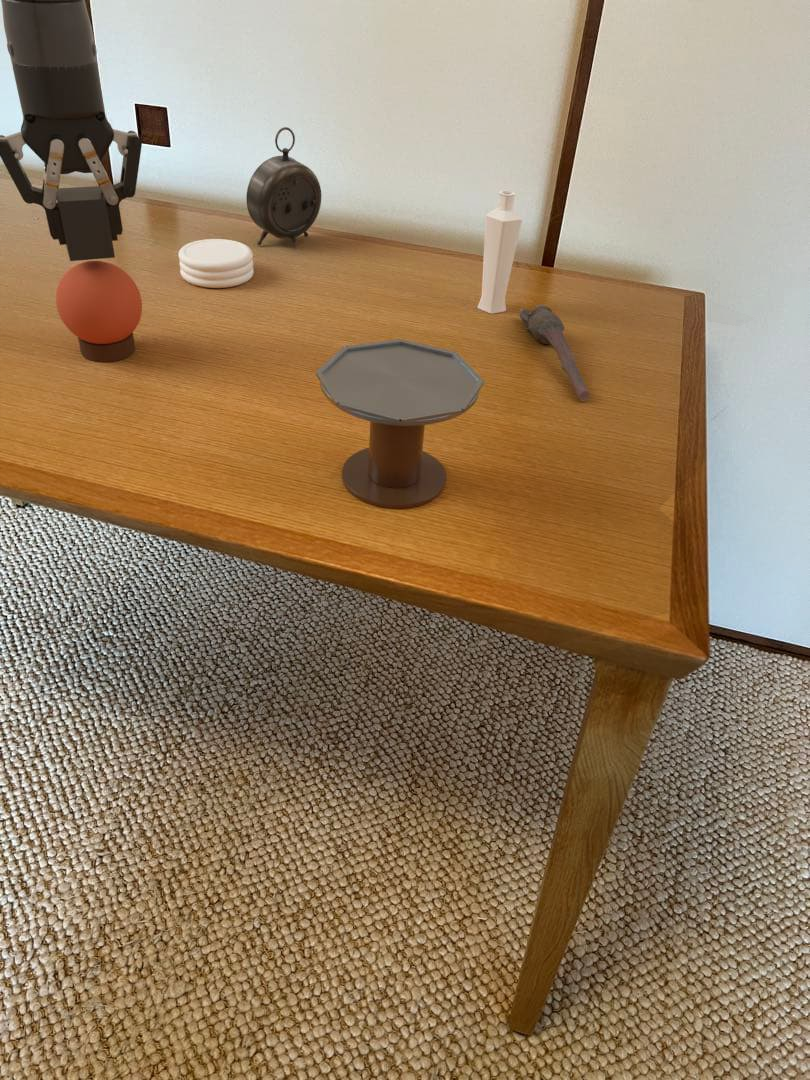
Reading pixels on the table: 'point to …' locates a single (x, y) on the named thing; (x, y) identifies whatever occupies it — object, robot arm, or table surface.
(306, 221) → the alarm clock
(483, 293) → the perfume bottle
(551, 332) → the natural artifact
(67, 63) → the robot arm
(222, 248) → the coaster
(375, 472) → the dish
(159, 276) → the table surface
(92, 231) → the block
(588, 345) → the table surface
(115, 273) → the ball
